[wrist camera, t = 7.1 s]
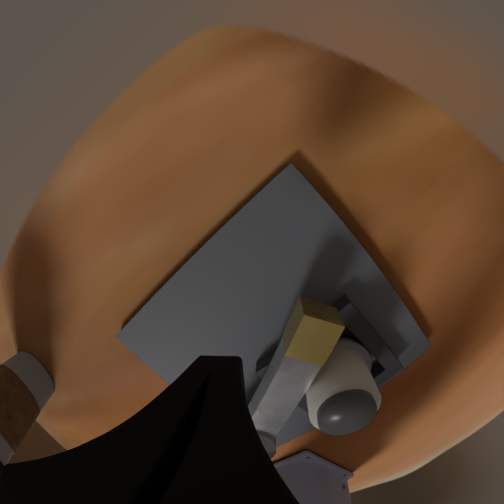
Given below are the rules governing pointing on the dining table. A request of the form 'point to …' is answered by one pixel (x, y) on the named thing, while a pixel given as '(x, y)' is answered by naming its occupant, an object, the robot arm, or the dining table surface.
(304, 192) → the panel
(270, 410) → the clip
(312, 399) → the plug
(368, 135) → the dining table surface
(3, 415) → the coffee cup
